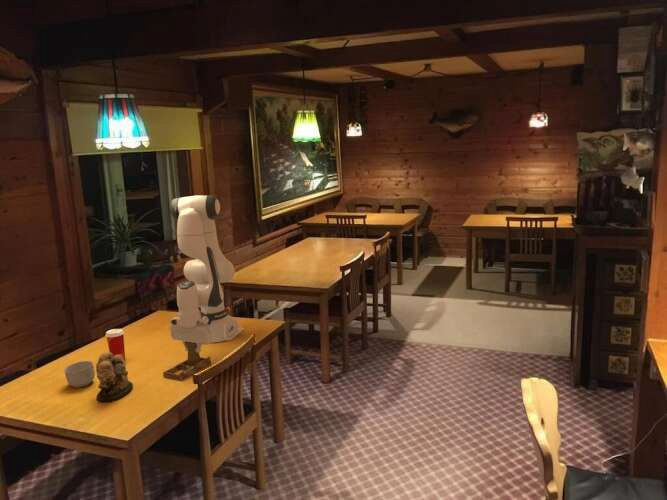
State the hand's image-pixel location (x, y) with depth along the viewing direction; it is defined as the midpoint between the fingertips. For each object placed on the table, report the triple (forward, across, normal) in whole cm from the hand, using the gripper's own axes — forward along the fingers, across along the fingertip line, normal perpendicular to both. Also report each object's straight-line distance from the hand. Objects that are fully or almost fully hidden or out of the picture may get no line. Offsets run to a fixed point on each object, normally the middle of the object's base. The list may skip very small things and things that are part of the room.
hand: (193, 351), depth 237 cm
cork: (+7, 0, 0) cm, 7 cm away
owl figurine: (+7, +12, +32) cm, 35 cm away
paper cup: (+7, +37, +8) cm, 39 cm away
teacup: (+7, +33, +30) cm, 45 cm away
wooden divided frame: (+7, 0, +4) cm, 8 cm away
